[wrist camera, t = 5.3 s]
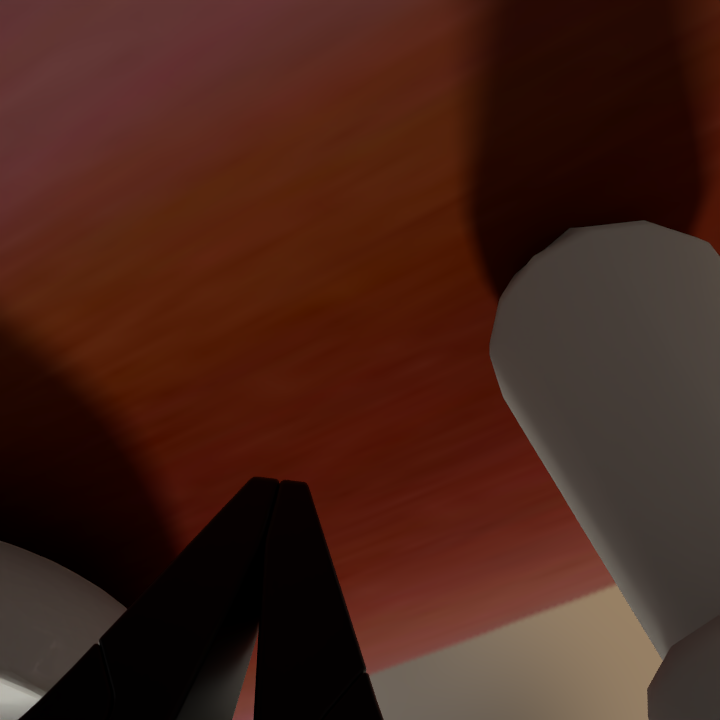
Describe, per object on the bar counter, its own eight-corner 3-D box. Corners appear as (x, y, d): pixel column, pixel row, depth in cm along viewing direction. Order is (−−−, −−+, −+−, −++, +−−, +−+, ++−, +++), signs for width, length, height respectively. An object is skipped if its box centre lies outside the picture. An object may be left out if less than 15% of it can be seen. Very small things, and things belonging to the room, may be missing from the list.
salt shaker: (744, 234, 16) (1597, 847, 5) (627, 406, 19) (972, 1032, 8) (534, 161, 15) (943, 682, 4) (446, 352, 18) (535, 956, 7)
